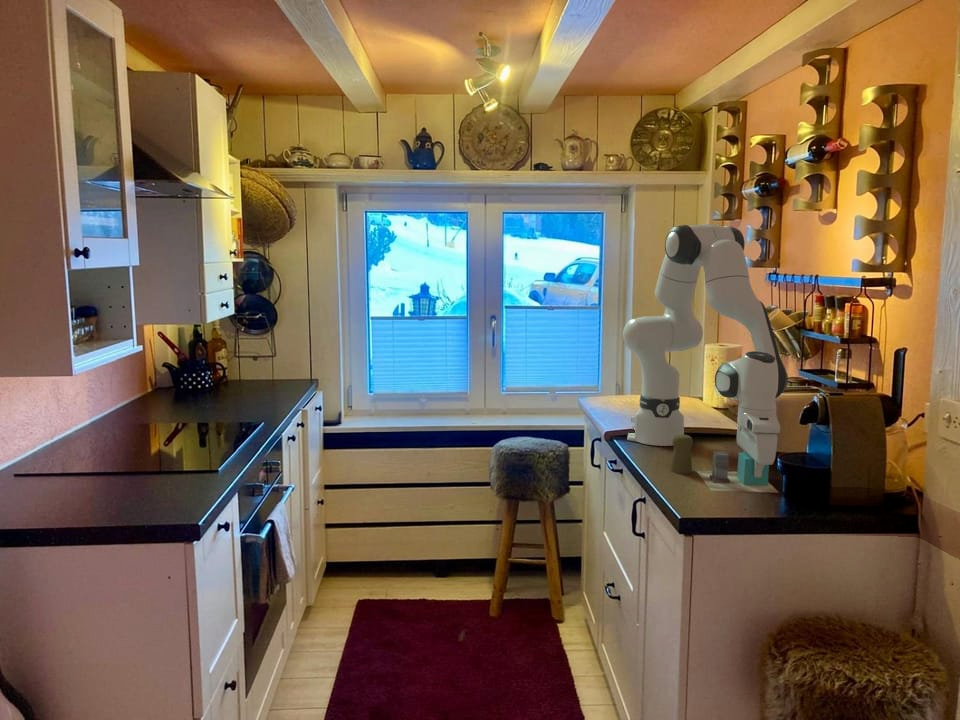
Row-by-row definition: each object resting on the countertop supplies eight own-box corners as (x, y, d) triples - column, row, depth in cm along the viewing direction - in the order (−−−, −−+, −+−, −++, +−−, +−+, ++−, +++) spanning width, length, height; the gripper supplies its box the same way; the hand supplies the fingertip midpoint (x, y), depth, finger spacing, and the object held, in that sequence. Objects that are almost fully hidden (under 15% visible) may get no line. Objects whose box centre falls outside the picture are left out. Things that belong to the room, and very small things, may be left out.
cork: (674, 471, 196) (676, 431, 194) (696, 475, 192) (698, 435, 191) (665, 476, 191) (667, 435, 190) (686, 481, 188) (689, 439, 186)
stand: (696, 476, 192) (697, 444, 190) (758, 478, 191) (760, 446, 189) (710, 496, 176) (712, 462, 175) (778, 498, 175) (781, 464, 174)
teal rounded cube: (737, 477, 186) (738, 452, 185) (760, 478, 185) (762, 453, 184) (743, 484, 180) (745, 458, 179) (767, 485, 180) (769, 459, 179)
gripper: (732, 408, 191) (728, 460, 193) (755, 427, 171) (751, 484, 173) (756, 409, 190) (753, 460, 192) (783, 428, 170) (779, 485, 172)
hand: (752, 472), depth 182 cm, fingers closed on teal rounded cube, 6 cm apart
